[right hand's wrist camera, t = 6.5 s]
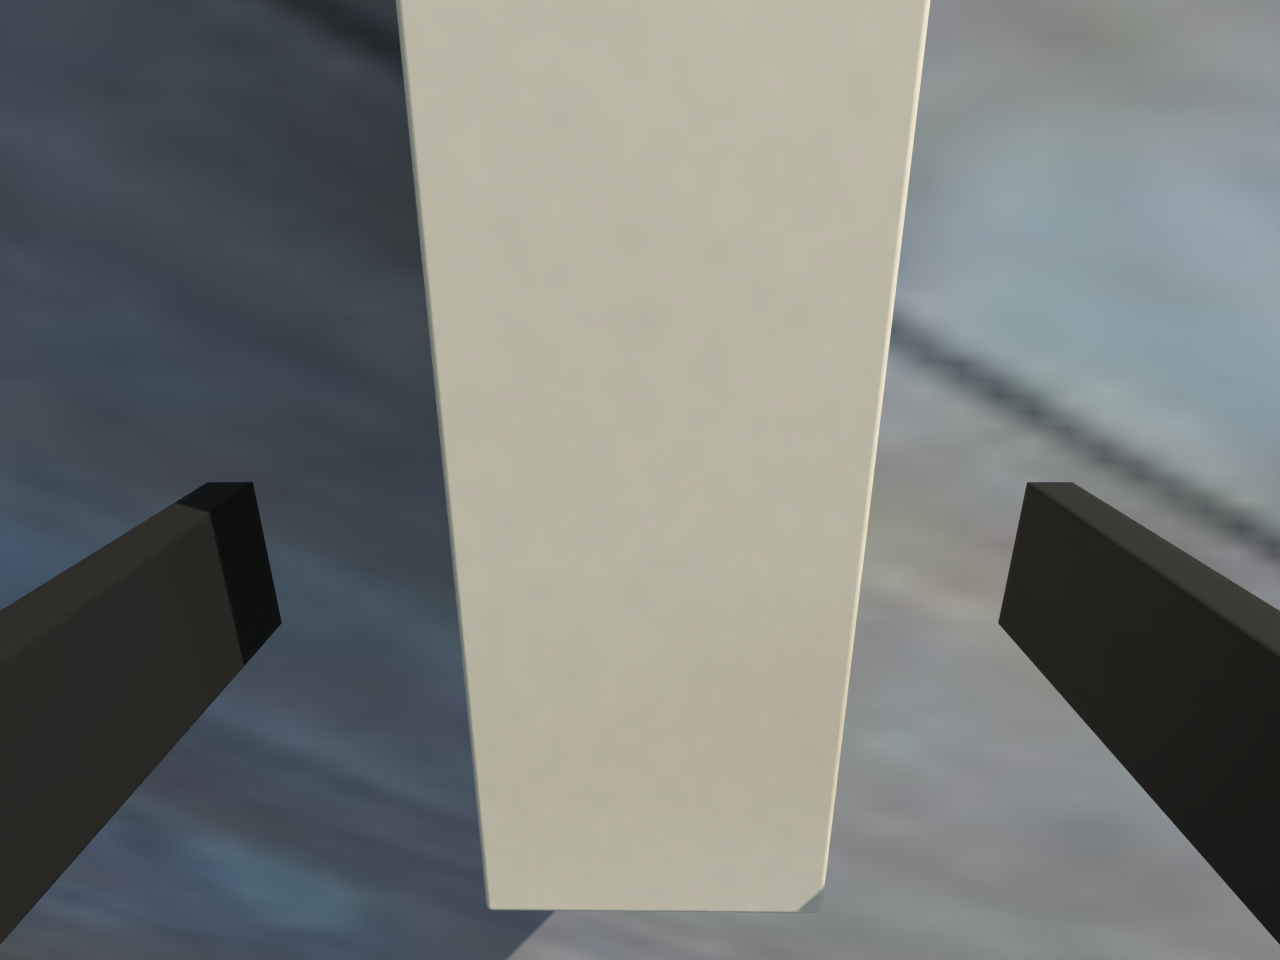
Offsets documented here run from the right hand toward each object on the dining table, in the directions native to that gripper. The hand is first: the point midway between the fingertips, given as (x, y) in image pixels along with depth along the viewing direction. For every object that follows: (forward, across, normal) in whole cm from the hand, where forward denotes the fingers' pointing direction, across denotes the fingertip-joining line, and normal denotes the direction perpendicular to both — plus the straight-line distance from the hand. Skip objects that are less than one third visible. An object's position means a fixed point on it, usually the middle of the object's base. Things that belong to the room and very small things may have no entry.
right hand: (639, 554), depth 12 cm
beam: (+5, 0, -11) cm, 12 cm away
